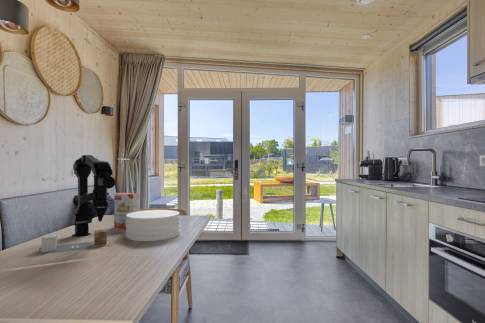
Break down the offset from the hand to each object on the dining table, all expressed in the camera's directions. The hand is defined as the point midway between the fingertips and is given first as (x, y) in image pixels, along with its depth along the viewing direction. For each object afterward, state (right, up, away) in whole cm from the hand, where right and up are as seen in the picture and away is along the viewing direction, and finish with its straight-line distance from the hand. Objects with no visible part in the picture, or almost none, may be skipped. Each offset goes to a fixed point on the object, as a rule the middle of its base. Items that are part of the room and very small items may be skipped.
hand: (99, 219), depth 131 cm
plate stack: (+20, -13, +19) cm, 30 cm away
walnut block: (+2, -11, -2) cm, 11 cm away
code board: (-7, -11, -7) cm, 15 cm away
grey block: (-16, -11, -12) cm, 23 cm away
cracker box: (-2, -13, +36) cm, 38 cm away
